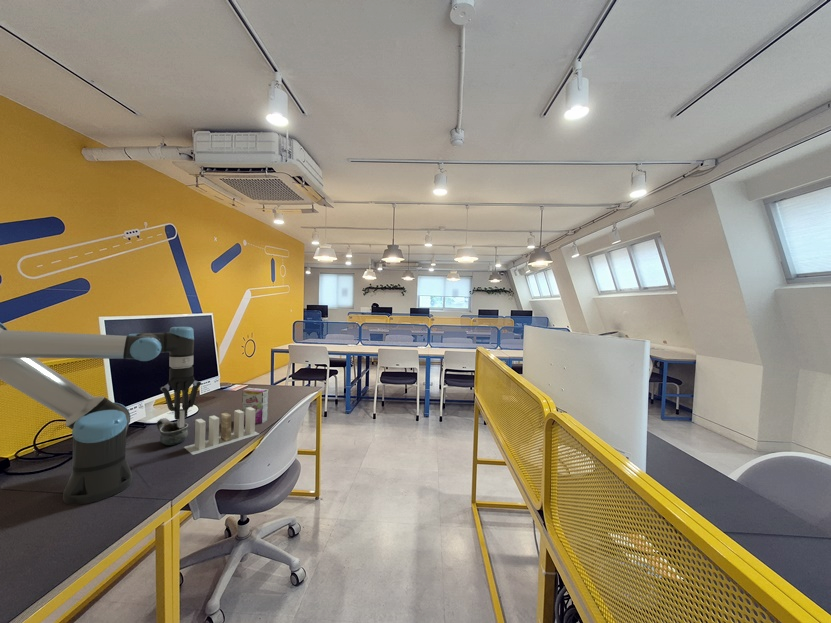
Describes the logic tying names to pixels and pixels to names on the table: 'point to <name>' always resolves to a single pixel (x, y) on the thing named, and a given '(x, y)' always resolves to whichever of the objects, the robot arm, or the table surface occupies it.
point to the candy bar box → (256, 403)
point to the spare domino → (226, 427)
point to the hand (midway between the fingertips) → (180, 426)
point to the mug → (171, 432)
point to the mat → (208, 446)
